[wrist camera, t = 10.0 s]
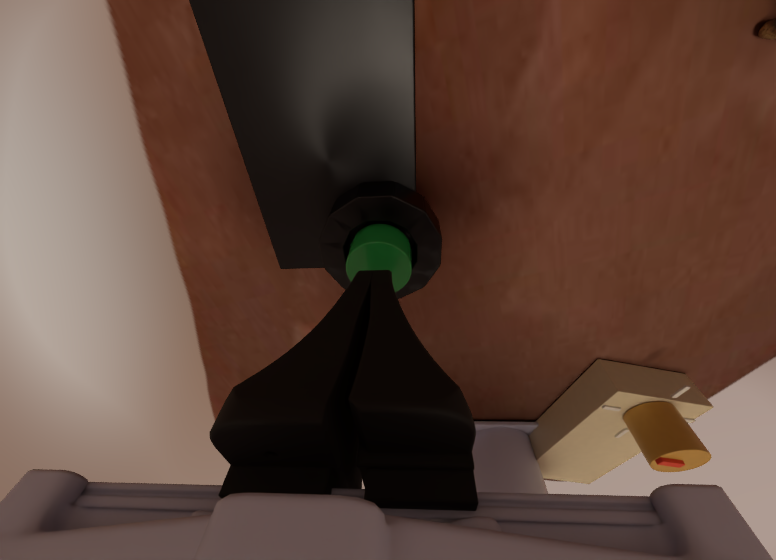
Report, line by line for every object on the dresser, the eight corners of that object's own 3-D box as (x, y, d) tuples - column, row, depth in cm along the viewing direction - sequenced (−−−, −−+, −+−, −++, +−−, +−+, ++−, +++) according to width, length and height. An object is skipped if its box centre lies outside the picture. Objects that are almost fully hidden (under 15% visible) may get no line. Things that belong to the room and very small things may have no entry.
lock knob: (686, 405, 23) (729, 459, 20) (652, 427, 25) (686, 479, 22) (643, 398, 23) (679, 451, 20) (612, 421, 25) (641, 473, 22)
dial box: (576, 454, 35) (589, 486, 33) (511, 445, 35) (519, 476, 32) (704, 359, 24) (738, 395, 22) (612, 343, 24) (637, 378, 21)
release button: (411, 273, 16) (412, 295, 15) (355, 275, 16) (350, 296, 15) (410, 221, 14) (411, 240, 13) (346, 224, 14) (340, 243, 13)
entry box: (433, 257, 20) (439, 298, 16) (294, 261, 20) (274, 301, 17) (442, -24, 12) (456, -49, 9) (215, -2, 12) (151, -18, 9)
